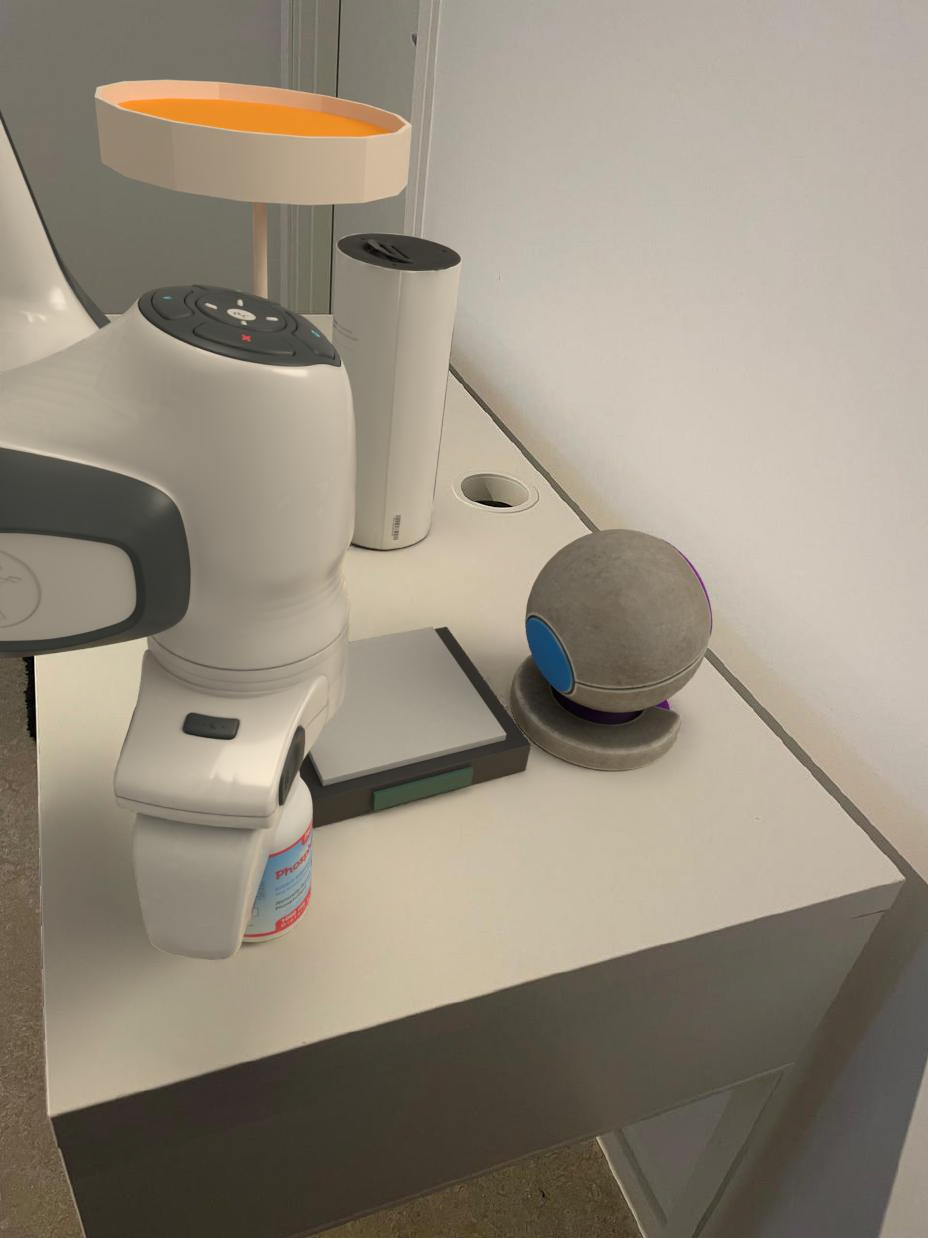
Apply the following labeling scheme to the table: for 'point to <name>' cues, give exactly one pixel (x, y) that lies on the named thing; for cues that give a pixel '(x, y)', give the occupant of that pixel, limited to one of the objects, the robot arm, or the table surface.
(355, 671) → the scale
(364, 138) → the desk lamp
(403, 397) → the speaker
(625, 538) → the webcam
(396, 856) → the table surface
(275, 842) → the pill bottle
